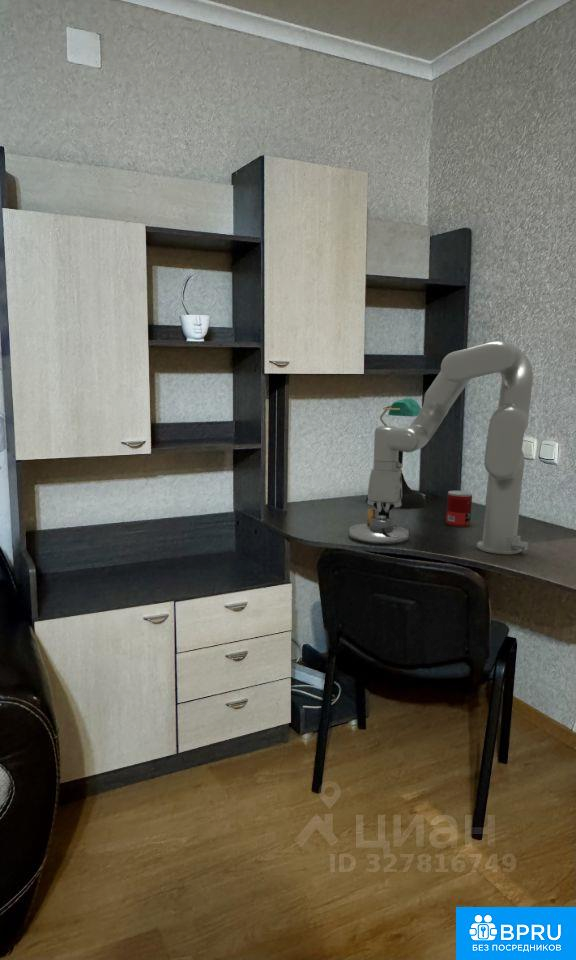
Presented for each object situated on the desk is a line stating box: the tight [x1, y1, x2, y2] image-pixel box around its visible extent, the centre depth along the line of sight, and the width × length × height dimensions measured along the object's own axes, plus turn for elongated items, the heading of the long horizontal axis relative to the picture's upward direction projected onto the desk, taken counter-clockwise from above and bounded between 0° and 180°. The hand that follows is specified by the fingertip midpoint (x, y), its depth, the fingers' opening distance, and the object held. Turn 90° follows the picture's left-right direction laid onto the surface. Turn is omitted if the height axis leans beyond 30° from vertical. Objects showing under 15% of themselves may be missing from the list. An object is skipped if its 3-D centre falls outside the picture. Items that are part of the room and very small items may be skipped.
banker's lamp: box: [365, 397, 427, 510], centre depth 266 cm, size 26×23×40 cm
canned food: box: [445, 490, 473, 528], centre depth 234 cm, size 8×8×11 cm
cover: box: [370, 514, 394, 533], centre depth 212 cm, size 7×7×4 cm
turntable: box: [348, 508, 409, 544], centre depth 212 cm, size 18×18×7 cm
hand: (383, 523), depth 218 cm, fingers closed
